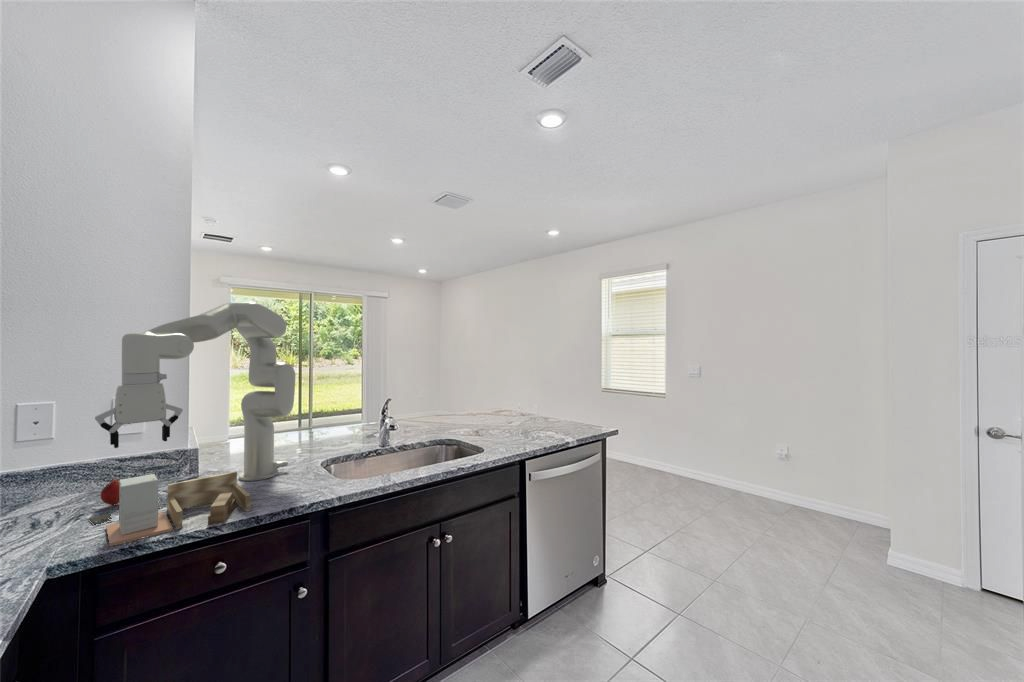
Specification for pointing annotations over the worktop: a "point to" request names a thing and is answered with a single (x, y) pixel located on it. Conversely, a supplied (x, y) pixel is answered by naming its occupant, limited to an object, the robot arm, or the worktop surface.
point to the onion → (111, 493)
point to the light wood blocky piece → (203, 494)
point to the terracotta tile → (118, 538)
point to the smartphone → (106, 518)
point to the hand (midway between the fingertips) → (141, 443)
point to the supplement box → (138, 503)
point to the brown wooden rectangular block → (221, 508)
